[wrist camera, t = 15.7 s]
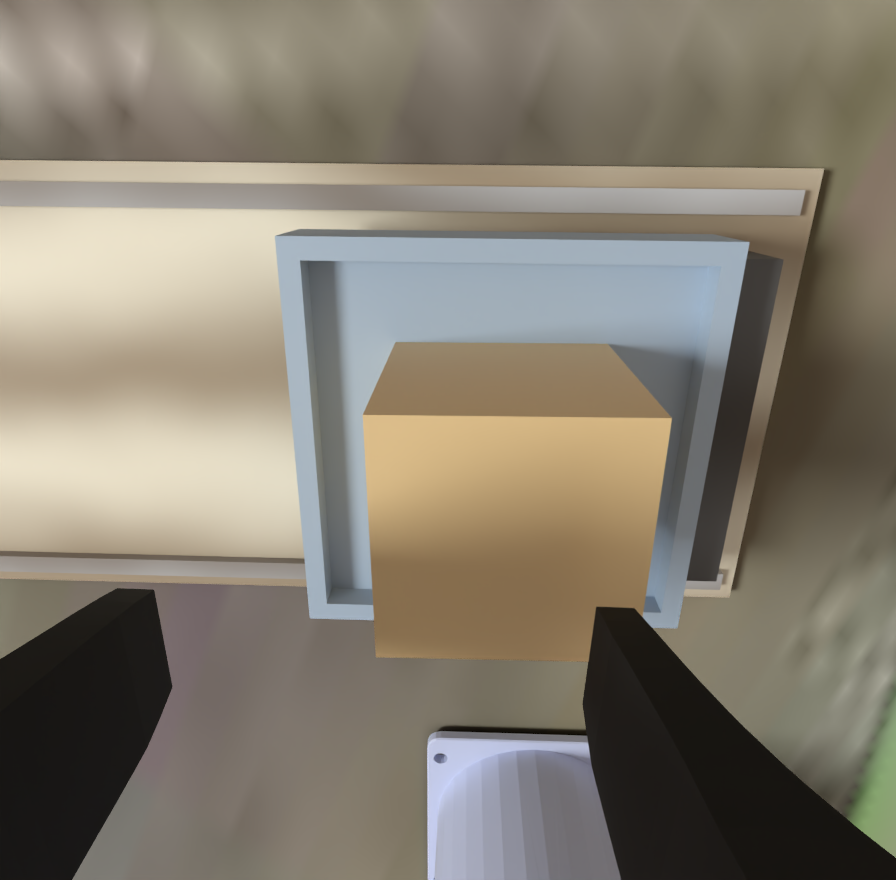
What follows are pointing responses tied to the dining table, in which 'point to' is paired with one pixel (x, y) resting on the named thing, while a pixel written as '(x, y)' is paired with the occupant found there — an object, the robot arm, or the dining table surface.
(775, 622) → the dining table surface
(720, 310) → the blue square tray
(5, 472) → the track
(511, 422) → the ochre block
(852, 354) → the dining table surface
